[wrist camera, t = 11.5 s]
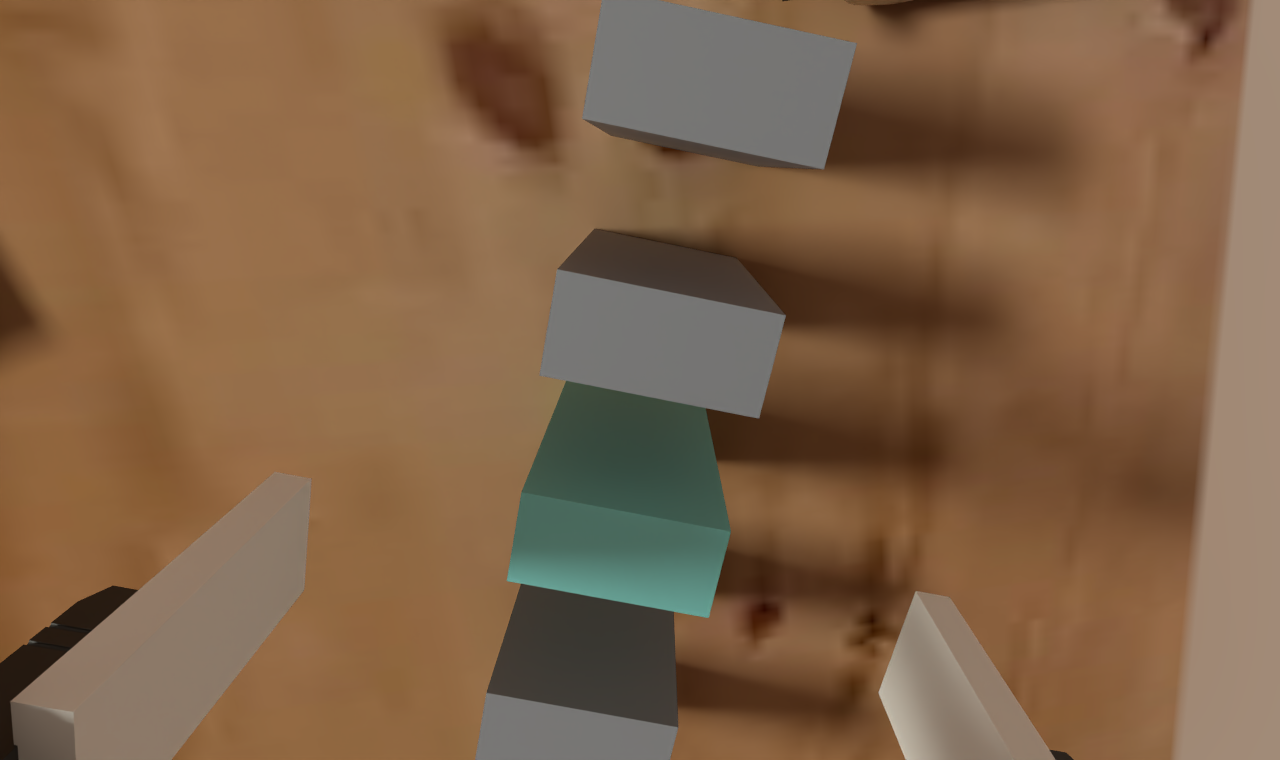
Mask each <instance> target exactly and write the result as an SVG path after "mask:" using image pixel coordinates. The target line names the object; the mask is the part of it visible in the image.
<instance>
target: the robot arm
mask: <svg viewBox="0 0 1280 760" xmlns="http://www.w3.org/2000/svg"><path fill="white" fill-rule="evenodd" d="M311 480H312V479H310V478H305V477H300V476H294V475H289V474H284V473H278V472H274V473H273V474H272V475H271V476H270V477H268V478H267V479H266V480H265V481H264V482H263V483H262V484H260V485H259V486H258V487H257V488H256V489H255V490H253V491H252V492H251V493H250V494H249V495H248V496H247V497H245V498H244V499H243V500H242V501H241V502H240V503H239V504H237V505H236V506H235V507H234V508H233V509H232V510H230V511H229V512H228V513H227V514H226V515H225V516H224V517H222V518H221V519H220V520H219V521H218V522H217V523H215V524H214V525H213V526H212V527H211V528H210V529H209V530H207V531H206V532H205V533H204V534H203V535H202V536H200V537H199V538H198V539H197V540H196V541H195V542H194V543H192V544H191V545H190V546H189V547H188V548H187V549H185V550H184V551H183V552H182V553H181V554H180V555H179V556H177V557H176V558H175V559H174V560H173V561H172V562H171V563H169V564H168V565H167V566H166V567H165V568H164V569H162V570H161V571H160V572H159V573H158V574H157V575H156V576H154V577H153V578H152V579H151V580H150V581H149V582H147V583H146V584H145V585H144V586H143V587H142V588H141V589H139V590H134V589H129V588H123V587H118V586H111V587H109V588H107V589H105V590H102V591H100V592H98V593H96V594H94V595H91V596H89V597H87V598H85V599H83V600H80V601H78V602H77V603H75V604H74V605H73V606H72V607H70V608H69V609H68V610H67V611H65V612H64V613H63V614H62V615H60V616H59V617H58V618H57V619H55V620H54V621H53V622H52V623H51V625H50V627H45V628H44V629H43V630H41V631H40V632H39V633H38V634H36V635H35V636H34V637H33V638H31V639H30V640H29V643H28V644H27V645H23V646H21V647H20V648H19V649H18V650H16V651H15V652H14V653H13V654H11V655H10V656H9V657H8V658H6V659H5V660H4V661H3V662H1V663H0V760H171V759H172V758H173V757H174V756H175V754H176V753H177V752H178V751H179V749H180V748H181V747H182V745H183V744H184V743H185V742H186V740H187V739H188V738H189V736H190V735H191V734H192V733H193V731H194V730H195V729H196V728H197V726H198V725H199V724H200V722H201V721H202V720H203V719H204V717H205V716H206V715H207V713H208V712H209V711H210V710H211V708H212V707H213V706H214V705H215V703H216V702H217V701H218V699H219V698H220V697H221V696H222V694H223V693H224V692H225V690H226V689H227V688H228V687H229V685H230V684H231V683H232V682H233V680H234V679H235V678H236V676H237V675H238V674H239V673H240V671H241V670H242V669H243V667H244V666H245V665H246V664H247V662H248V661H249V660H250V659H251V657H252V656H253V655H254V653H255V652H256V651H257V650H258V648H259V647H260V646H261V644H262V643H263V642H264V641H265V639H266V638H267V637H268V636H269V634H270V633H271V632H272V630H273V629H274V628H275V627H276V625H277V624H278V623H279V621H280V620H281V619H282V618H283V616H284V615H285V614H286V613H287V611H288V610H289V609H290V607H291V606H292V605H293V604H294V602H295V601H296V600H297V598H298V597H299V596H300V595H301V593H302V592H303V591H304V584H305V570H306V555H307V540H308V525H309V510H310V495H311ZM879 695H880V698H881V700H882V703H883V705H884V708H885V710H886V713H887V715H888V717H889V720H890V722H891V725H892V727H893V730H894V732H895V735H896V737H897V739H898V742H899V744H900V747H901V749H902V752H903V754H904V757H905V759H906V760H1073V759H1072V758H1071V757H1070V756H1069V755H1068V754H1067V753H1065V752H1059V751H1054V750H1049V749H1048V747H1047V746H1046V744H1045V743H1044V741H1043V740H1042V738H1041V737H1040V735H1039V733H1038V732H1037V730H1036V729H1035V727H1034V726H1033V724H1032V723H1031V721H1030V720H1029V718H1028V717H1027V715H1026V713H1025V712H1024V710H1023V709H1022V707H1021V706H1020V704H1019V703H1018V701H1017V700H1016V698H1015V697H1014V695H1013V694H1012V692H1011V690H1010V689H1009V687H1008V686H1007V684H1006V683H1005V681H1004V680H1003V678H1002V677H1001V675H1000V674H999V672H998V671H997V669H996V667H995V666H994V664H993V663H992V661H991V660H990V658H989V657H988V655H987V654H986V652H985V651H984V649H983V648H982V646H981V644H980V643H979V641H978V640H977V638H976V637H975V635H974V634H973V632H972V631H971V629H970V628H969V626H968V624H967V623H966V621H965V620H964V618H963V617H962V615H961V614H960V612H959V611H958V609H957V608H956V606H955V605H954V603H953V601H952V600H951V598H950V597H946V596H941V595H935V594H930V593H925V592H919V591H916V592H915V594H914V597H913V600H912V603H911V605H910V608H909V611H908V613H907V616H906V619H905V622H904V624H903V627H902V630H901V633H900V635H899V638H898V641H897V643H896V646H895V649H894V652H893V654H892V657H891V660H890V663H889V665H888V668H887V671H886V674H885V676H884V679H883V682H882V684H881V687H880V690H879Z"/></svg>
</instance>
